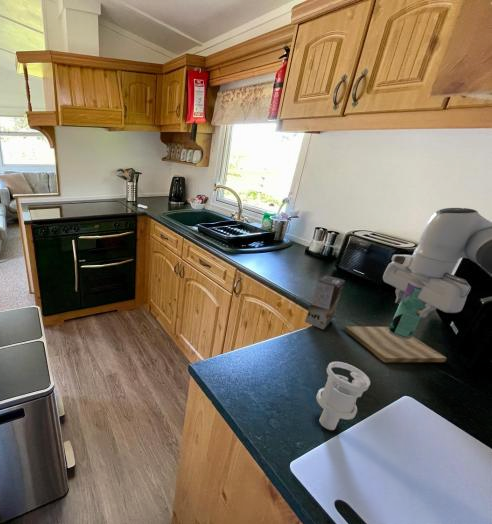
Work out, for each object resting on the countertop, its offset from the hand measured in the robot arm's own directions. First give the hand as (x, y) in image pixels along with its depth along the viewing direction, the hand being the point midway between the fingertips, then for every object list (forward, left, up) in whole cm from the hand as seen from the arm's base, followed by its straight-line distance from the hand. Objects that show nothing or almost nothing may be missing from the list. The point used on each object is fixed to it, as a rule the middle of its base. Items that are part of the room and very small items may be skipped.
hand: (409, 309), depth 85 cm
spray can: (0, 0, -9) cm, 9 cm away
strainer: (+40, +25, -14) cm, 49 cm away
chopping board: (-2, -2, -14) cm, 14 cm away
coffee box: (+14, -15, -14) cm, 25 cm away
